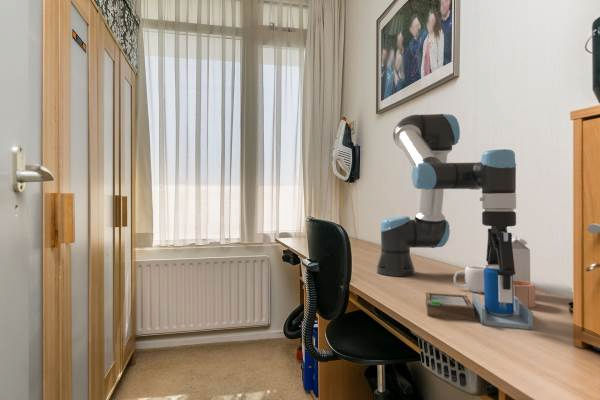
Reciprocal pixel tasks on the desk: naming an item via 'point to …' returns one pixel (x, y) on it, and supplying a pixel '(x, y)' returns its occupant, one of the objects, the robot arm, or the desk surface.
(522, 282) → the cup
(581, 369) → the desk surface
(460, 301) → the grey flat square plate
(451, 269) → the desk surface
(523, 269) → the milk carton
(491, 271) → the beverage can
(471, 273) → the mug
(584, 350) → the desk surface
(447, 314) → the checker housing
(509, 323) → the trough
